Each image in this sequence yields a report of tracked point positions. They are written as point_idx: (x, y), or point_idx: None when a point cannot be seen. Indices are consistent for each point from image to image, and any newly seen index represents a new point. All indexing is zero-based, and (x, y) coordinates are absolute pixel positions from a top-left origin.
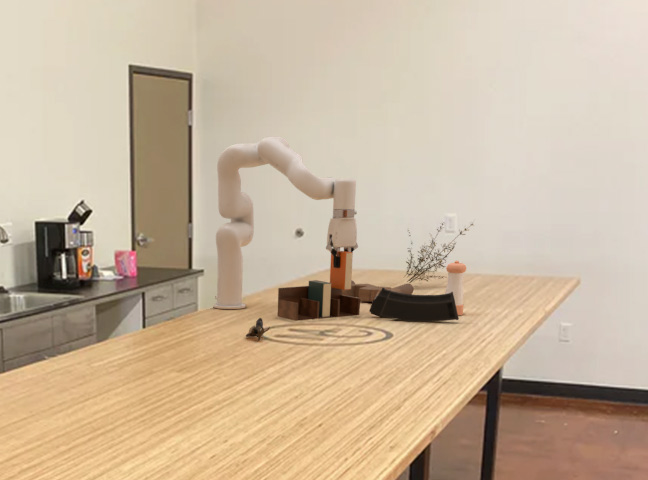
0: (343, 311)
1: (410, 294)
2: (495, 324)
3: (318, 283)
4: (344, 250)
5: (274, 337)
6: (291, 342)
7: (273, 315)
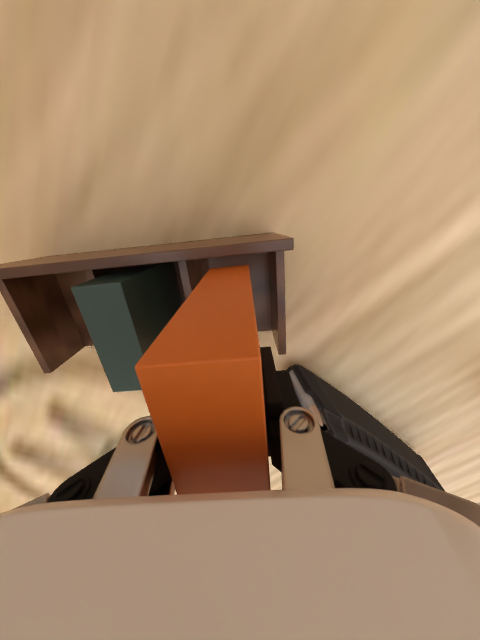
0: (269, 264)
1: (378, 462)
2: (448, 480)
3: (103, 361)
4: (282, 466)
5: (10, 455)
6: (35, 490)
7: (41, 191)
